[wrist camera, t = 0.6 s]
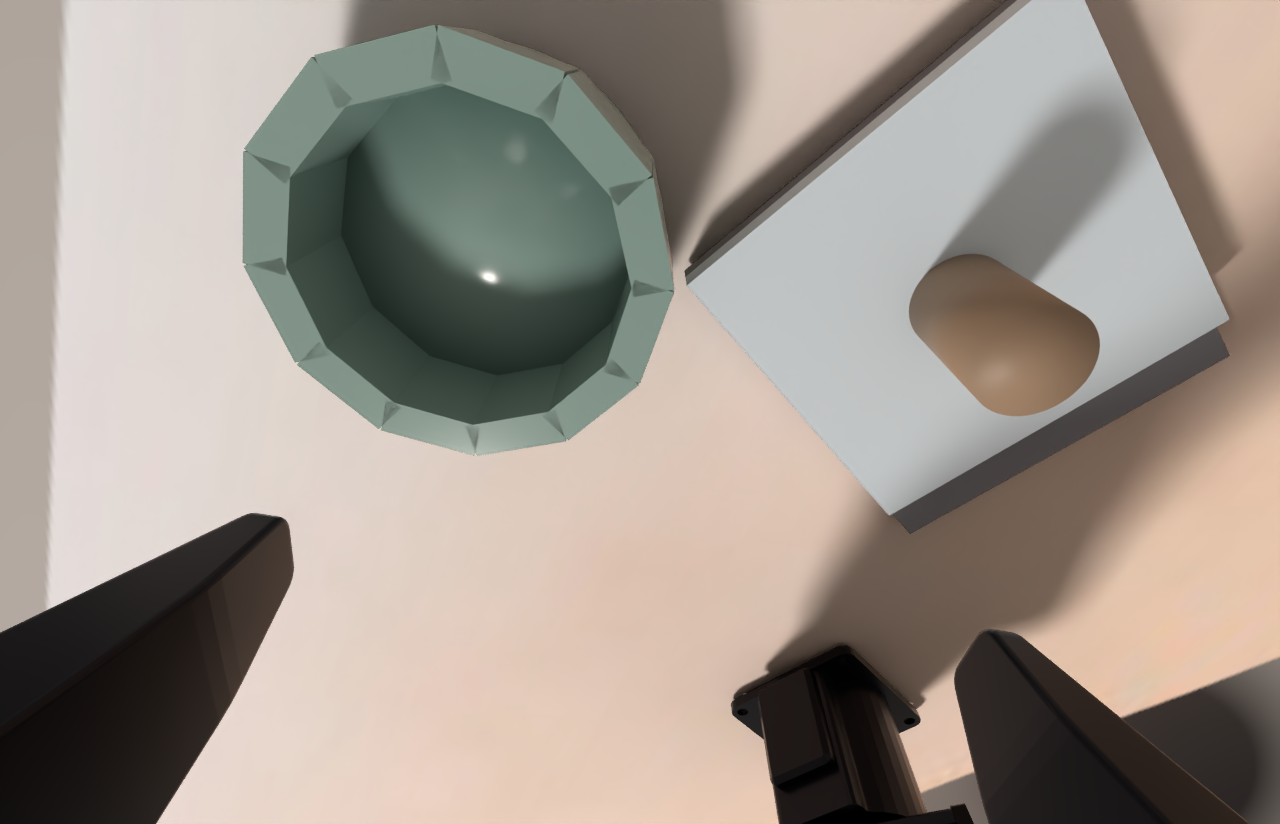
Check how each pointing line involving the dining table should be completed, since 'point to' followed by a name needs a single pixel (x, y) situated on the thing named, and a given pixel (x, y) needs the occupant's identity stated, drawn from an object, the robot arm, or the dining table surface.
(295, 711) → the dining table surface
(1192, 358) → the mat
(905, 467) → the lid
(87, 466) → the dining table surface
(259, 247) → the bowl
